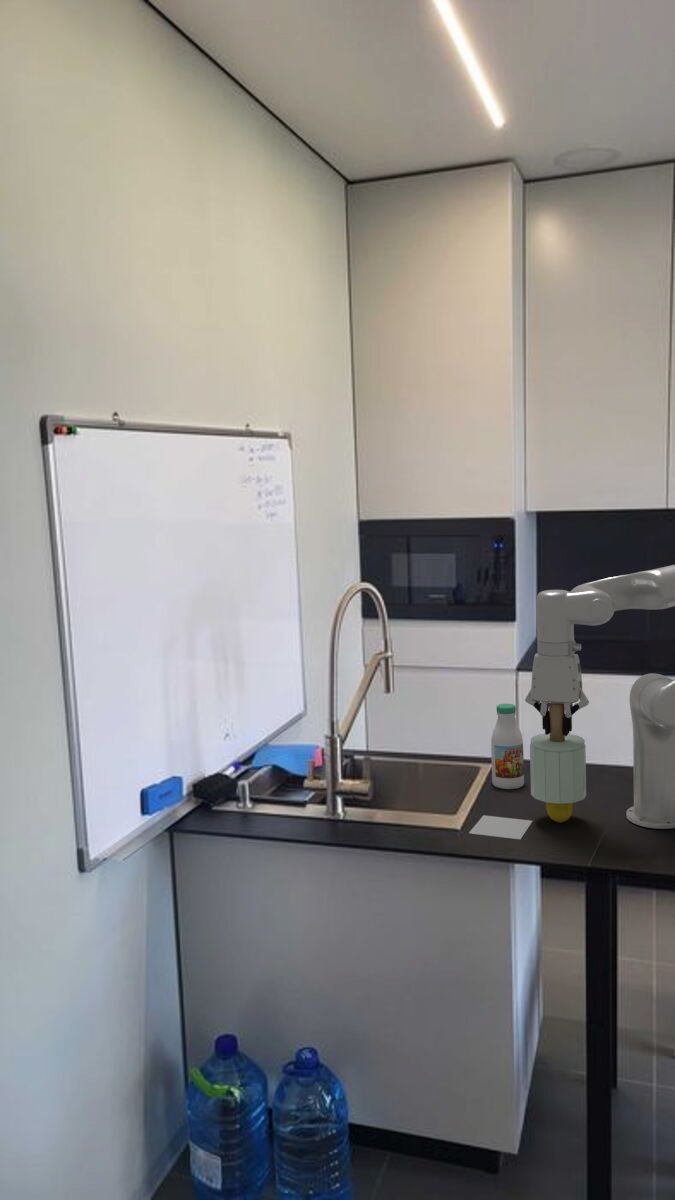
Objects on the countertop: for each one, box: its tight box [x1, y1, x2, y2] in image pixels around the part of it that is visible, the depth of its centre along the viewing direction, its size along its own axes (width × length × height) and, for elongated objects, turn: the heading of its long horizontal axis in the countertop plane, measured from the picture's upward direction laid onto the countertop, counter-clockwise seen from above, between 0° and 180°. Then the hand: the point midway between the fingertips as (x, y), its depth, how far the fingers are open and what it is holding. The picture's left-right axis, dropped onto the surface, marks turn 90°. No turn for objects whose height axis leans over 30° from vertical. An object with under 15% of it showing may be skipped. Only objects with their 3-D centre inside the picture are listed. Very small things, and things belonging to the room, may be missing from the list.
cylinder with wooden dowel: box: [529, 702, 587, 804], centre depth 194 cm, size 11×11×20 cm
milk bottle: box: [490, 703, 525, 790], centre depth 222 cm, size 8×8×20 cm
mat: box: [468, 815, 533, 840], centre depth 194 cm, size 11×11×1 cm
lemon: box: [545, 802, 574, 823], centre depth 196 cm, size 6×6×8 cm
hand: (557, 732), depth 194 cm, fingers closed on cylinder with wooden dowel, 3 cm apart
